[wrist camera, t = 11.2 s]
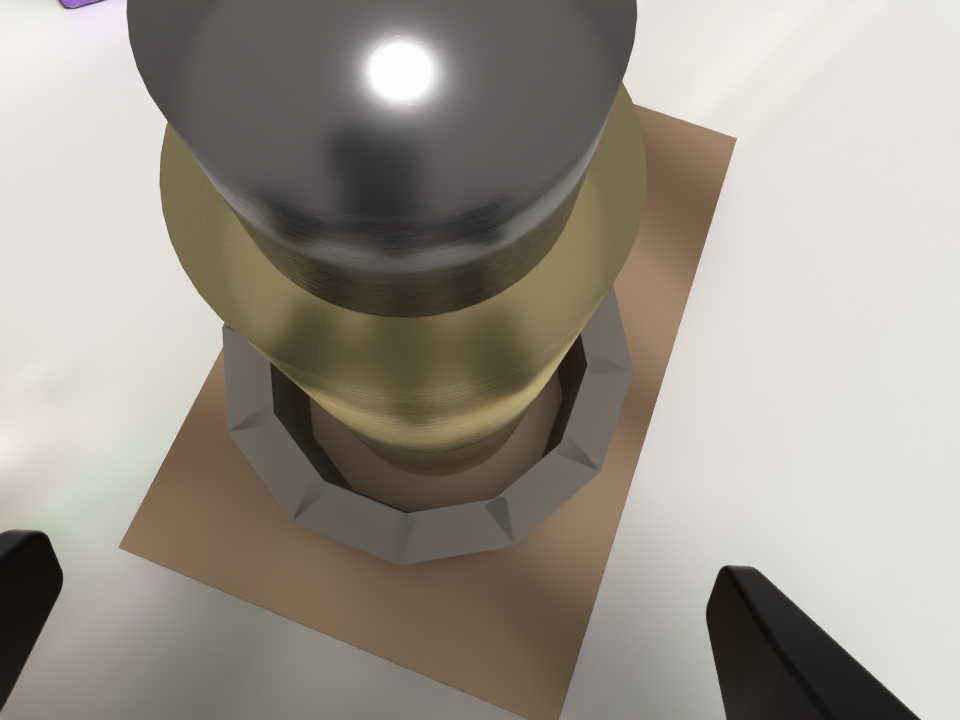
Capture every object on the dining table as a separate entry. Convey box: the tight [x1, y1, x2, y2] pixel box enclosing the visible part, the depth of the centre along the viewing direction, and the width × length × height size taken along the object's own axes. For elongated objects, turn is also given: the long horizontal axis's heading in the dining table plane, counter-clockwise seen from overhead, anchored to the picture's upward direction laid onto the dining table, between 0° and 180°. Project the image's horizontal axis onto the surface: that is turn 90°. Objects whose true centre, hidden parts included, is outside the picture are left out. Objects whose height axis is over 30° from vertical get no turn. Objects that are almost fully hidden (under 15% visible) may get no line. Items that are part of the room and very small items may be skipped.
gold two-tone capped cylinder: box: [127, 0, 647, 476], centre depth 11 cm, size 5×5×13 cm
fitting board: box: [119, 104, 737, 720], centre depth 16 cm, size 18×12×5 cm, turn 159°
